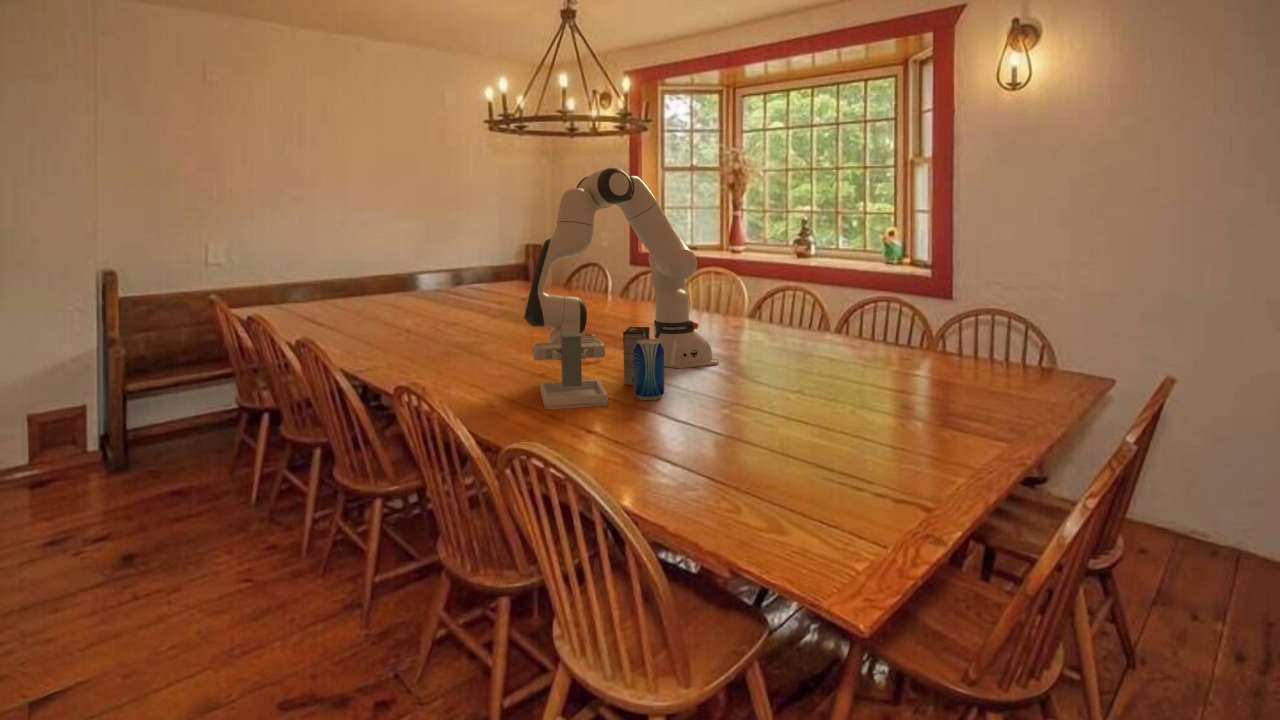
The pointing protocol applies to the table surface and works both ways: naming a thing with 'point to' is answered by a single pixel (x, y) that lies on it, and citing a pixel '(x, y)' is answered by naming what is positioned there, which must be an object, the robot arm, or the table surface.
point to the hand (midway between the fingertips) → (571, 356)
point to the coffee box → (632, 350)
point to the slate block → (571, 359)
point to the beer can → (648, 369)
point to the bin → (573, 395)
